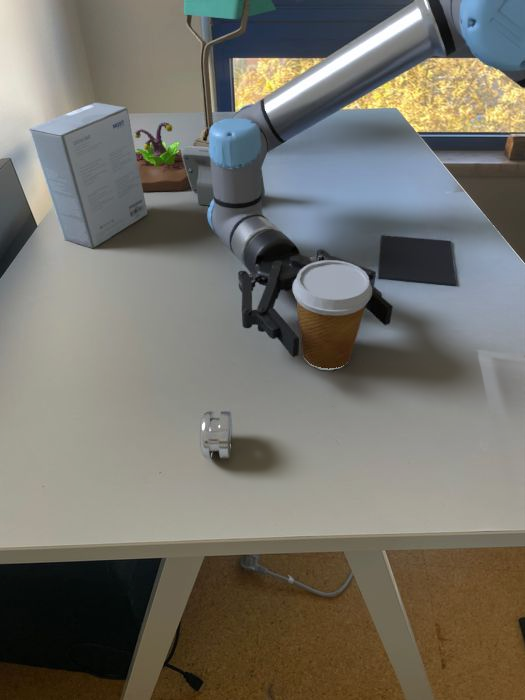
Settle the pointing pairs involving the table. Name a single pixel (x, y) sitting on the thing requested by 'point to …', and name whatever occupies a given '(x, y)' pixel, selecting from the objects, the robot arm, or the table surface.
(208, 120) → the banker's lamp
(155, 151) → the plant
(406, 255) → the mat
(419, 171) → the table surface
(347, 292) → the disposable coffee cup
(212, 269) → the table surface
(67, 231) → the hard drive box
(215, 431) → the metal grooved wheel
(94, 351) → the table surface
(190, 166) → the digital clock
